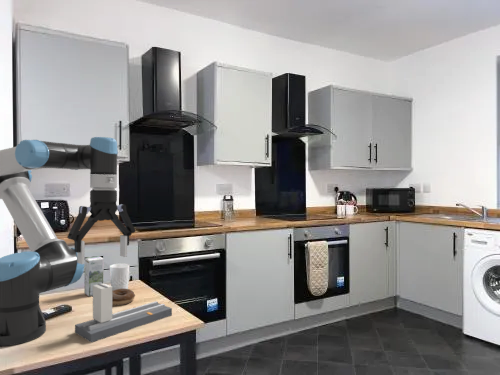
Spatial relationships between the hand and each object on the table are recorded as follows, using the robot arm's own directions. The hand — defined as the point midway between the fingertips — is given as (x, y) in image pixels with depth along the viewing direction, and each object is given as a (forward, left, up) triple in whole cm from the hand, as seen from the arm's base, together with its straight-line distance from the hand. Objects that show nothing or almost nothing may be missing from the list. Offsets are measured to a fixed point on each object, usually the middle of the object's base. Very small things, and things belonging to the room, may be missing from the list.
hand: (103, 259), depth 111 cm
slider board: (0, +8, -22) cm, 23 cm away
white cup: (-35, +26, -22) cm, 49 cm away
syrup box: (-37, +16, -22) cm, 46 cm away
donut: (-21, +18, -22) cm, 35 cm away
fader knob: (0, 0, -19) cm, 19 cm away
